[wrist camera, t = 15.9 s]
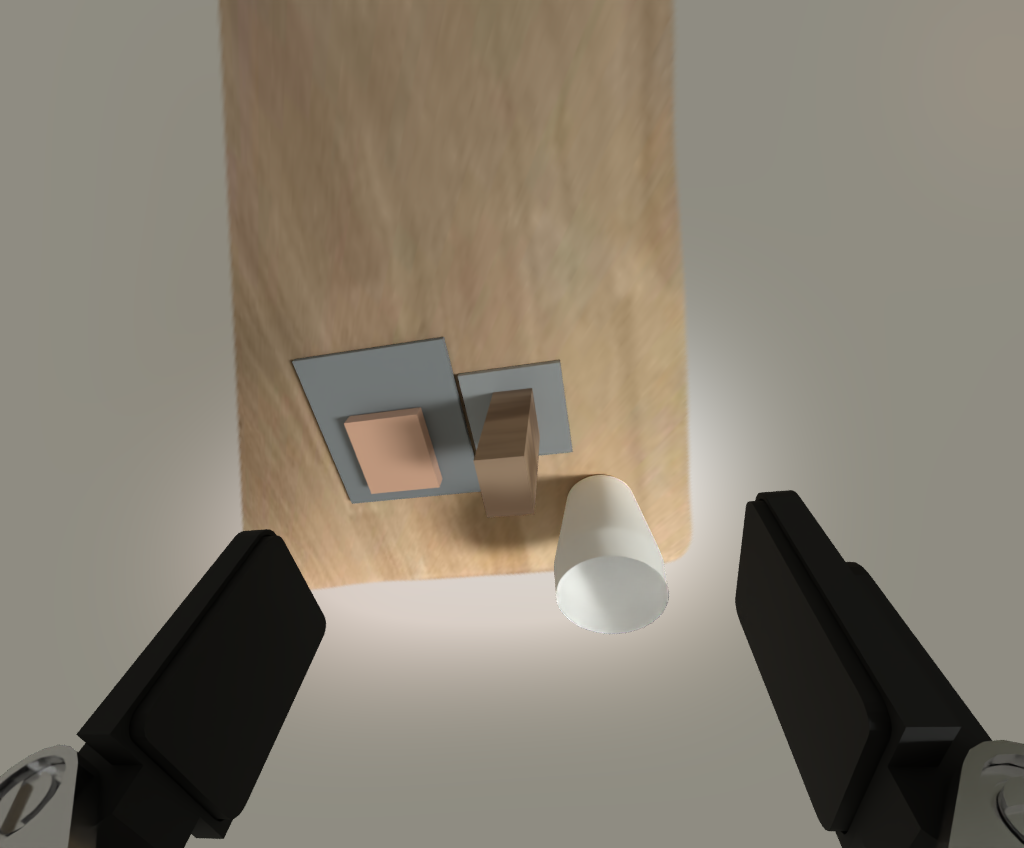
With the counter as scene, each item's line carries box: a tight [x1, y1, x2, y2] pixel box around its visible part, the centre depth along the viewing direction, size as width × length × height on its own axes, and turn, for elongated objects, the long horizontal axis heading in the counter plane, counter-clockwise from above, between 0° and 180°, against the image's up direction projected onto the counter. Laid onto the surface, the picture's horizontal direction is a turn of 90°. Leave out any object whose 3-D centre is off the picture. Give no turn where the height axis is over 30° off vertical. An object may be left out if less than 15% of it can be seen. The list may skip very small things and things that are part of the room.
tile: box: [344, 407, 442, 494], centre depth 45 cm, size 2×7×8 cm
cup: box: [554, 475, 669, 634], centre depth 42 cm, size 9×9×12 cm
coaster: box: [458, 360, 573, 455], centre depth 43 cm, size 9×9×1 cm
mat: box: [292, 337, 481, 504], centre depth 45 cm, size 16×14×1 cm
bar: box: [474, 388, 540, 518], centre depth 38 cm, size 5×4×11 cm
